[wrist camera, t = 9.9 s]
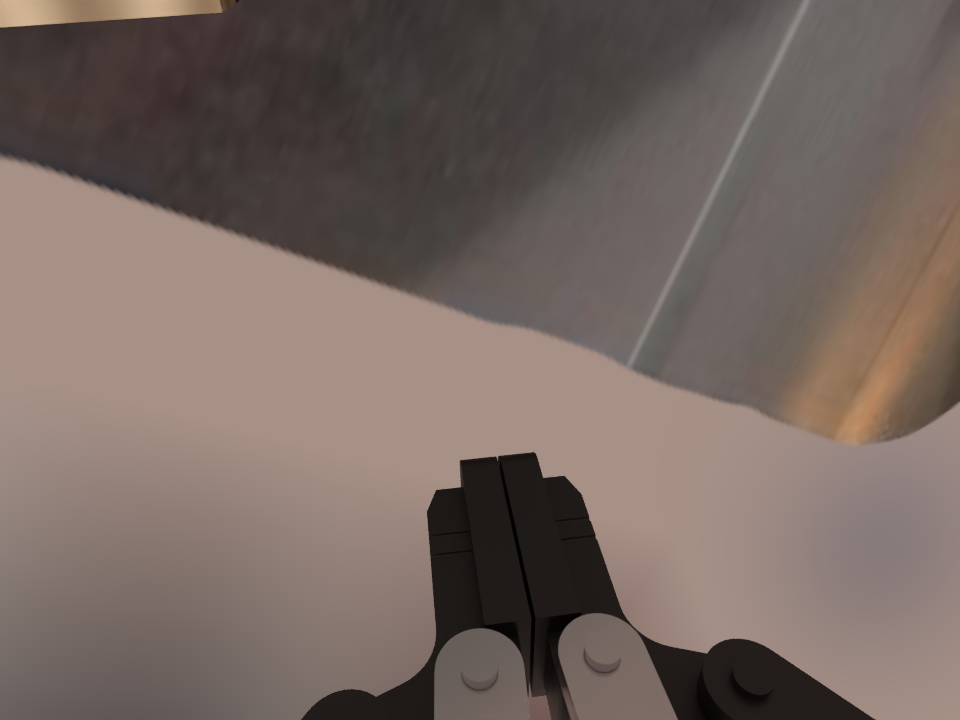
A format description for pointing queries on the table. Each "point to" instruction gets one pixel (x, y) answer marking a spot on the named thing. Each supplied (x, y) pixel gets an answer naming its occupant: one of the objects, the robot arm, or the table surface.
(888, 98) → the table surface
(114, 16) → the trough
